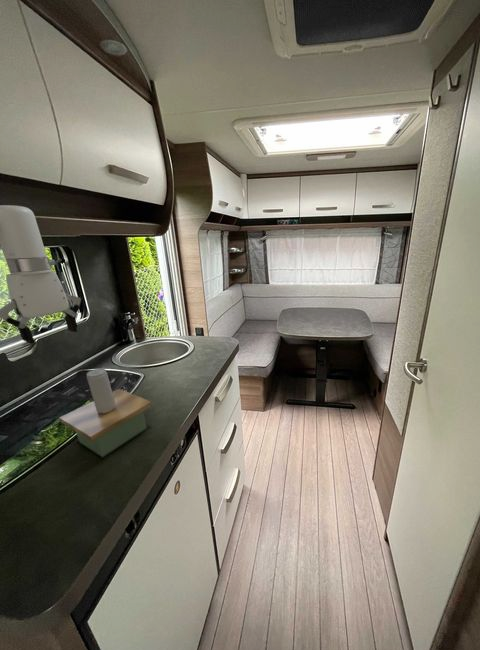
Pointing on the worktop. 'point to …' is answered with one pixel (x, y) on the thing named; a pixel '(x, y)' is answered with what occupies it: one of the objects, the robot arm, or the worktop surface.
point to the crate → (115, 436)
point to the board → (105, 415)
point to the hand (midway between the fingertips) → (52, 336)
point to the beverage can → (101, 390)
